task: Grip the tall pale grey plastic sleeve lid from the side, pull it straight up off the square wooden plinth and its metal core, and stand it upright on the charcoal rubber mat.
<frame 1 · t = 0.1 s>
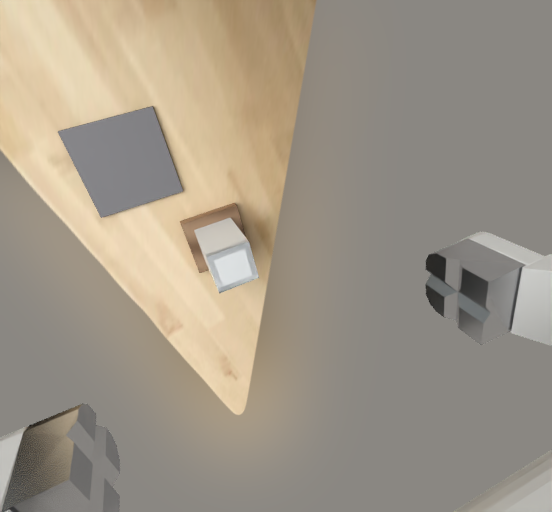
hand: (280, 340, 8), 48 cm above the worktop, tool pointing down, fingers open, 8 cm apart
square wooden plinth: (215, 236, 59), on the worktop
sleeve lid: (217, 240, 57), point 1 cm above the worktop, touching square wooden plinth
rubber mat: (125, 163, 49), on the worktop
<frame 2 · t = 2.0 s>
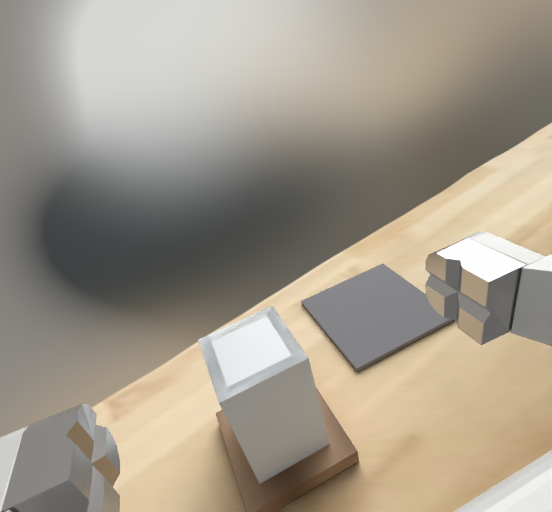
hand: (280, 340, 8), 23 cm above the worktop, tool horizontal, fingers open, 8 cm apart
square wooden plinth: (283, 440, 30), on the worktop
sleeve lid: (280, 430, 30), point 1 cm above the worktop, touching square wooden plinth
rubber mat: (372, 311, 41), on the worktop
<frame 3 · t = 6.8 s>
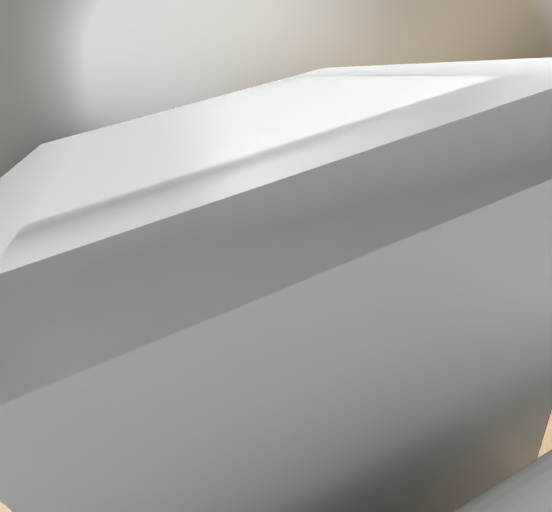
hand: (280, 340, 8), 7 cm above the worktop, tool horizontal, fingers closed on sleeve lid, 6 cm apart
sleeve lid: (327, 489, 10), point 2 cm above the worktop, touching square wooden plinth, gripper
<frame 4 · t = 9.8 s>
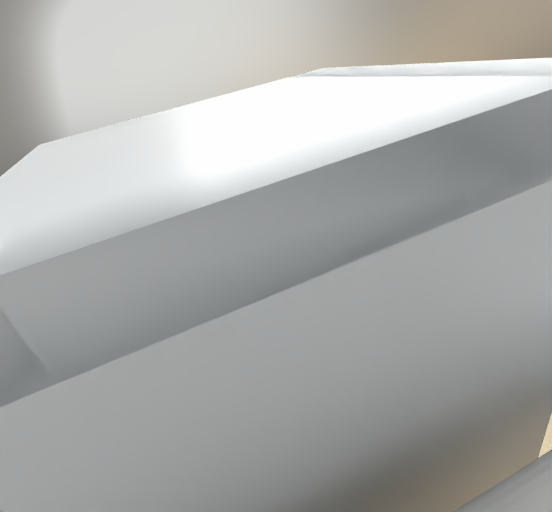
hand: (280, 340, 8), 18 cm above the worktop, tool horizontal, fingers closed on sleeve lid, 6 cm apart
sleeve lid: (327, 490, 10), point 13 cm above the worktop, touching gripper
when the fingers open (7 cm above the worktop, at t = 12.9 s): sleeve lid drops 2 cm, resting on rubber mat.
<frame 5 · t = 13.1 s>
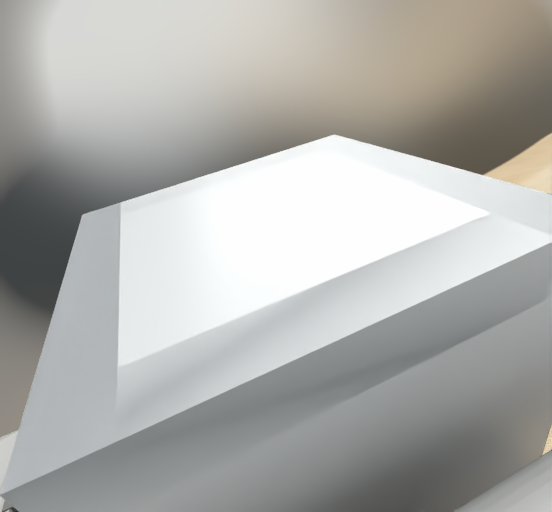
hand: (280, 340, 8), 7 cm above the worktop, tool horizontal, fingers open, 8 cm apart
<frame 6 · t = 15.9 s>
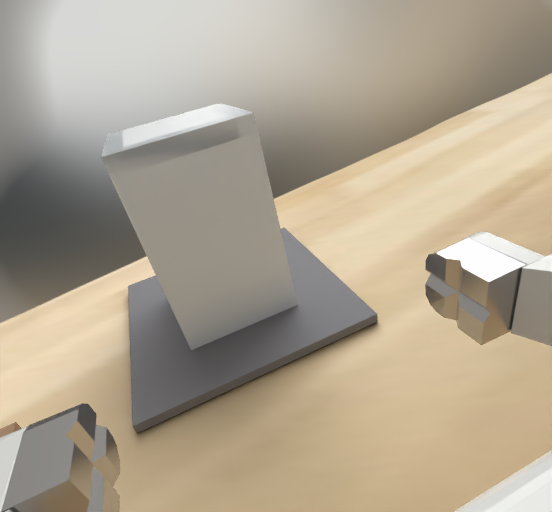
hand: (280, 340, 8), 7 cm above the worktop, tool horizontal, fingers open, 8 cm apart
sleeve lid: (231, 297, 21), resting on rubber mat
rubber mat: (233, 303, 21), on the worktop
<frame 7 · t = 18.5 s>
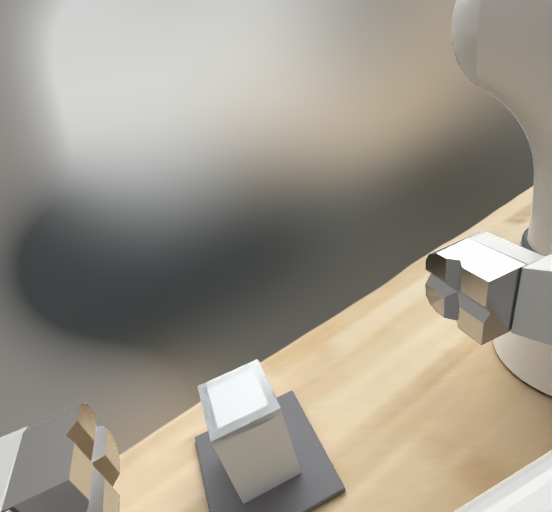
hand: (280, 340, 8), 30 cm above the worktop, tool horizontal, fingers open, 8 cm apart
sleeve lid: (262, 459, 36), resting on rubber mat
rubber mat: (263, 462, 36), on the worktop
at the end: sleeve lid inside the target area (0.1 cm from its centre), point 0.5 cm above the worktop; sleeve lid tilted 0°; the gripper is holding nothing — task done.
